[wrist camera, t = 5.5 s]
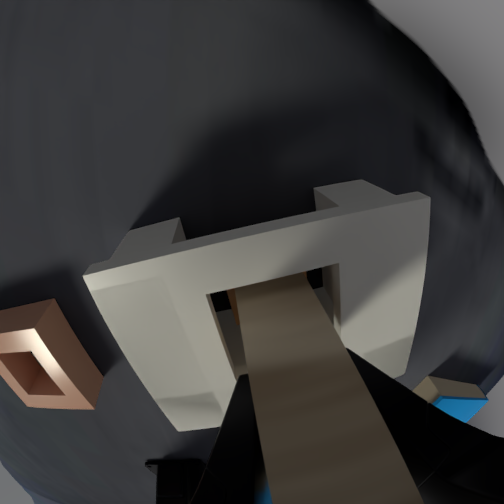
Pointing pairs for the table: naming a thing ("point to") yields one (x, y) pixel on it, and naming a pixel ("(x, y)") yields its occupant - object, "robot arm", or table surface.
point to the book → (452, 396)
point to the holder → (46, 358)
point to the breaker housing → (258, 270)
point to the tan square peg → (314, 404)
